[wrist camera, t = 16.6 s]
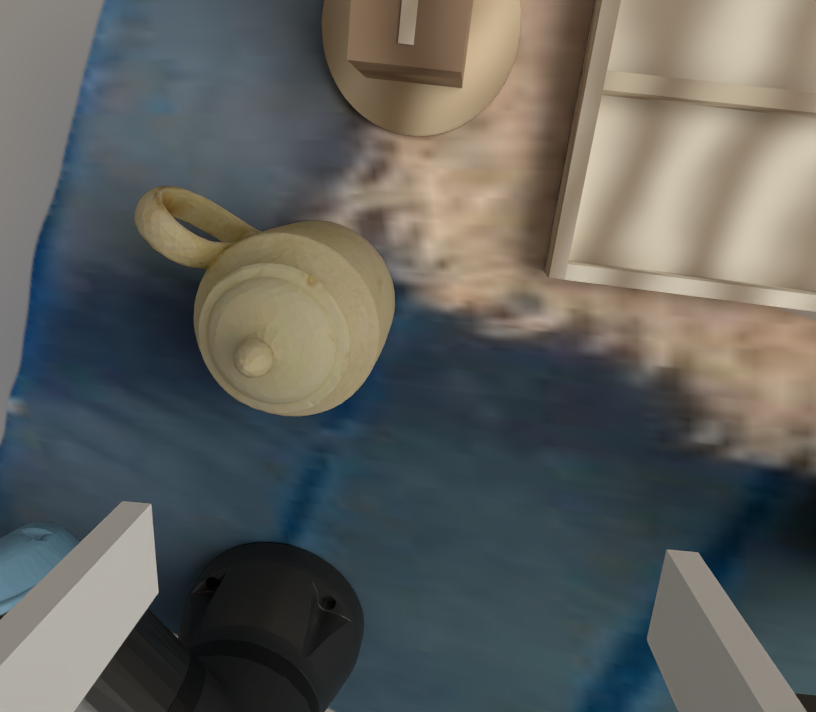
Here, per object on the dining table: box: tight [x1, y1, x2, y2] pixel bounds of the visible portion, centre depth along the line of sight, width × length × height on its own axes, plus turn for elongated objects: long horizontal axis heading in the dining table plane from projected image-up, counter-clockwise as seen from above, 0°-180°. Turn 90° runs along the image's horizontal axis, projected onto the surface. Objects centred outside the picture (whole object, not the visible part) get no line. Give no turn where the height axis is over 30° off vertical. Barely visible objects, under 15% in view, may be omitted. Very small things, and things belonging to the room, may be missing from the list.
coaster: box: [322, 0, 521, 136], centre depth 34 cm, size 12×12×1 cm
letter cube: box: [347, 0, 474, 88], centre depth 31 cm, size 6×6×6 cm
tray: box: [544, 0, 816, 312], centre depth 33 cm, size 22×23×2 cm
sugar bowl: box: [134, 186, 395, 416], centre depth 33 cm, size 15×11×15 cm
